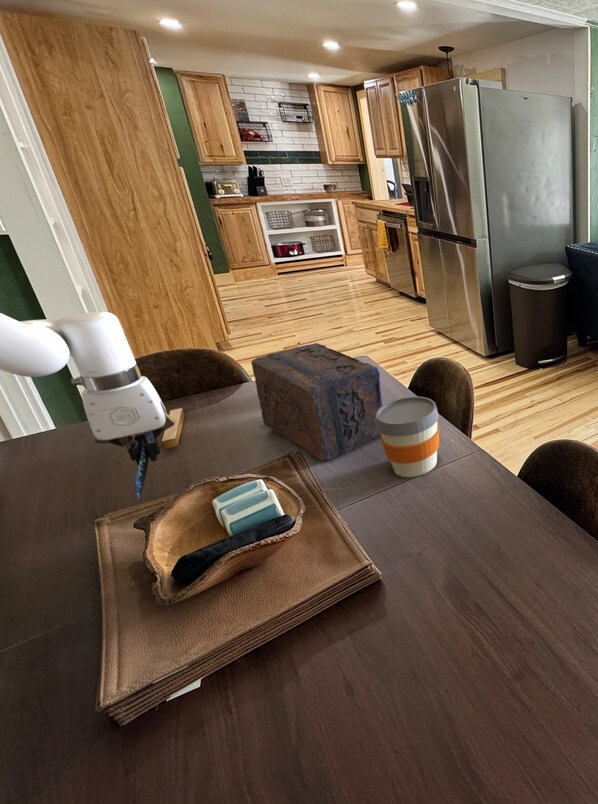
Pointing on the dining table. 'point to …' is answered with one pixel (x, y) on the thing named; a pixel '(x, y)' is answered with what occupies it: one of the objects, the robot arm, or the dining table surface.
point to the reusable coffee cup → (409, 434)
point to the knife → (142, 464)
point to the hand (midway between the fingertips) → (148, 459)
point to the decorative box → (319, 398)
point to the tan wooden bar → (173, 429)
